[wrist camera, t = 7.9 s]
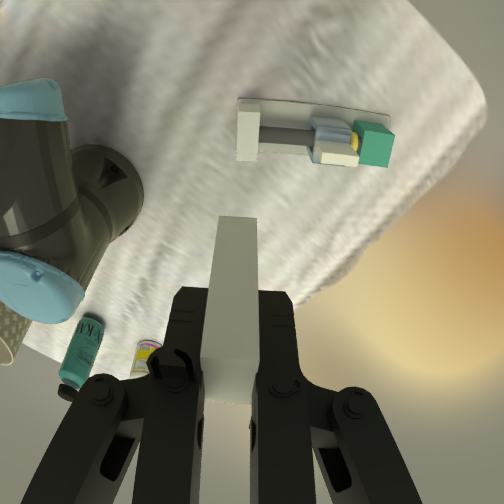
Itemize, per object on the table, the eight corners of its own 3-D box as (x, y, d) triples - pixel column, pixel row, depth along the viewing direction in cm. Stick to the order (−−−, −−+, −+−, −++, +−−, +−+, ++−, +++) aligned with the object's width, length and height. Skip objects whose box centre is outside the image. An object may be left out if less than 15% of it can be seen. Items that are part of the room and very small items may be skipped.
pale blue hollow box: (306, 149, 39) (318, 177, 33) (310, 115, 37) (324, 136, 30) (336, 152, 39) (354, 181, 33) (341, 119, 37) (362, 141, 30)
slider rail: (235, 148, 41) (233, 164, 37) (237, 98, 37) (235, 107, 33) (378, 161, 42) (392, 178, 38) (388, 115, 37) (404, 127, 33)
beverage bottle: (102, 333, 67) (78, 409, 51) (78, 320, 65) (49, 395, 49) (110, 320, 64) (84, 401, 48) (84, 306, 61) (52, 386, 46)
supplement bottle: (157, 358, 73) (147, 405, 62) (133, 347, 70) (121, 394, 60) (170, 348, 69) (161, 397, 59) (145, 335, 67) (133, 385, 57)
